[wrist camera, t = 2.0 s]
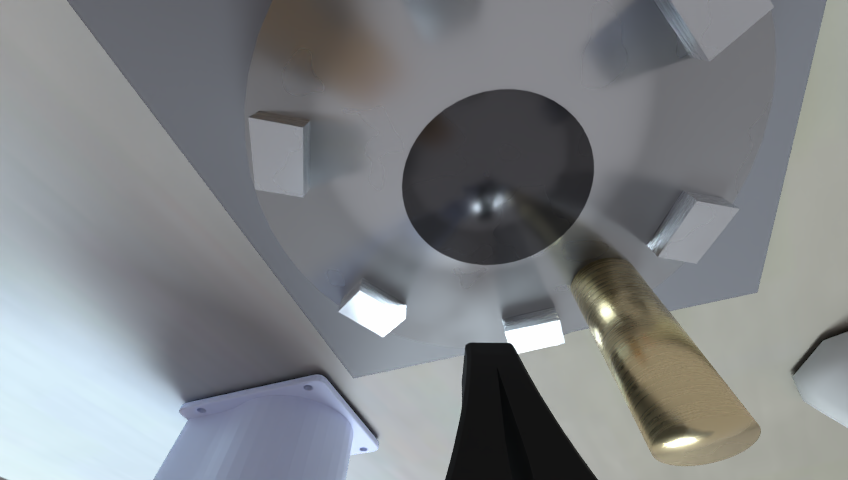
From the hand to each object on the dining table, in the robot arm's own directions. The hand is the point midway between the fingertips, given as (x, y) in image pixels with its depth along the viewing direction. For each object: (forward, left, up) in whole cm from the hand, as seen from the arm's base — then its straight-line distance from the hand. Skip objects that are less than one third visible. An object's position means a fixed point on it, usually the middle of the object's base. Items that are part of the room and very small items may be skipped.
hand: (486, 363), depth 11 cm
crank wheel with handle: (+2, +5, -4) cm, 6 cm away
